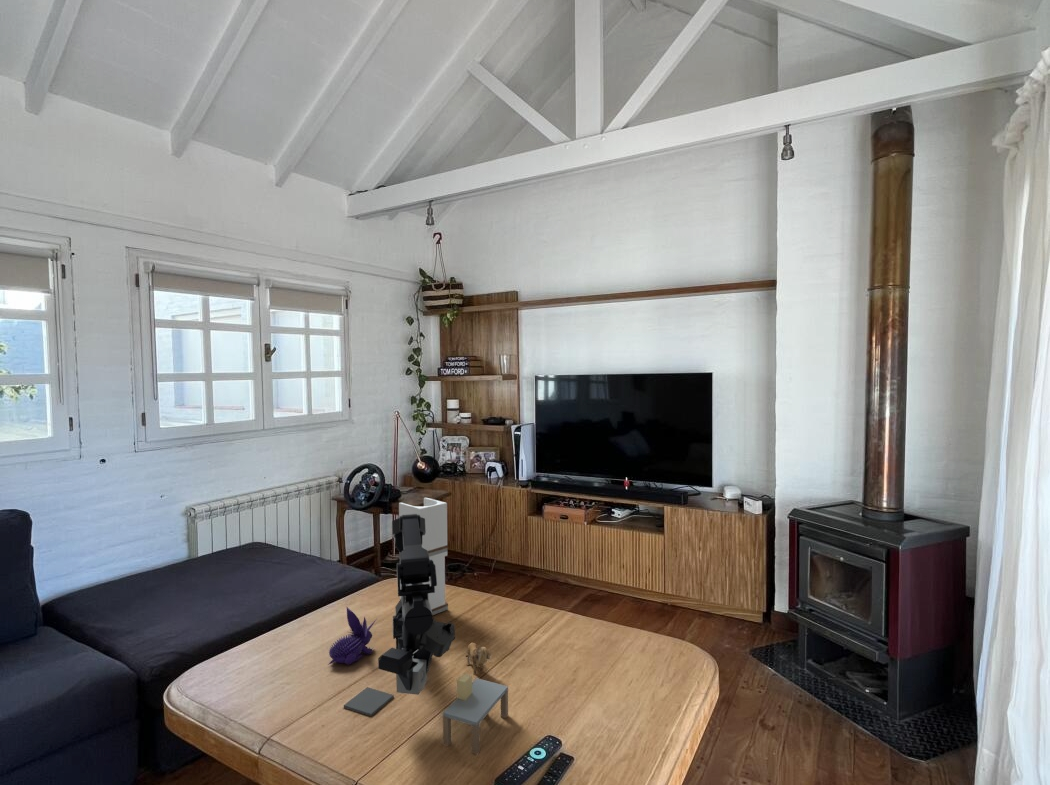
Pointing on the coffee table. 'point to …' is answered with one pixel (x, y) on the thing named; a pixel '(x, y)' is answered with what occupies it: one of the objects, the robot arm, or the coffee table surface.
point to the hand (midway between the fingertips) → (416, 683)
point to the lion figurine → (477, 657)
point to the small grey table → (474, 706)
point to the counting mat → (368, 701)
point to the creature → (352, 641)
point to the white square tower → (433, 544)
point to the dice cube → (414, 679)
